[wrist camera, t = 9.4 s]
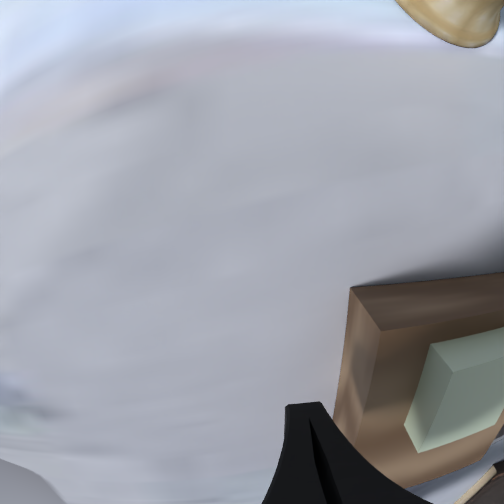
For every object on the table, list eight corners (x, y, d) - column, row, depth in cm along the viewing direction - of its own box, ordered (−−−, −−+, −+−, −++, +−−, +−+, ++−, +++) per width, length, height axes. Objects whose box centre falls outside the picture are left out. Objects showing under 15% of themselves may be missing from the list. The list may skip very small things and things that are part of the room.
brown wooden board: (460, 427, 19) (480, 459, 16) (324, 461, 19) (334, 505, 15) (517, 270, 15) (558, 295, 11) (350, 287, 15) (380, 331, 11)
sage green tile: (478, 402, 13) (494, 424, 11) (403, 424, 13) (417, 453, 11) (508, 325, 12) (532, 346, 10) (430, 344, 11) (453, 372, 10)
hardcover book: (506, 493, 31) (510, 501, 29) (422, 525, 29) (426, 535, 26) (560, 433, 26) (566, 441, 24) (491, 460, 24) (499, 473, 22)
